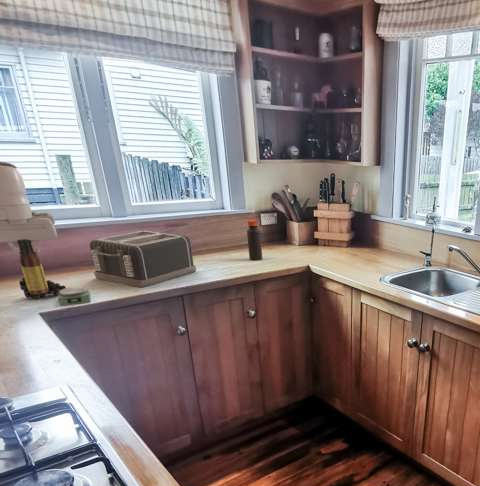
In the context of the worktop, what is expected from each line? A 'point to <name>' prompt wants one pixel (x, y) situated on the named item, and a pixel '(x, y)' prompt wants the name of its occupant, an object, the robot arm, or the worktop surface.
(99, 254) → the toaster
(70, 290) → the scale pan
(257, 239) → the vinegar
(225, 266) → the worktop surface
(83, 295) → the scale
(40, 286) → the sauce bottle
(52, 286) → the fruit
